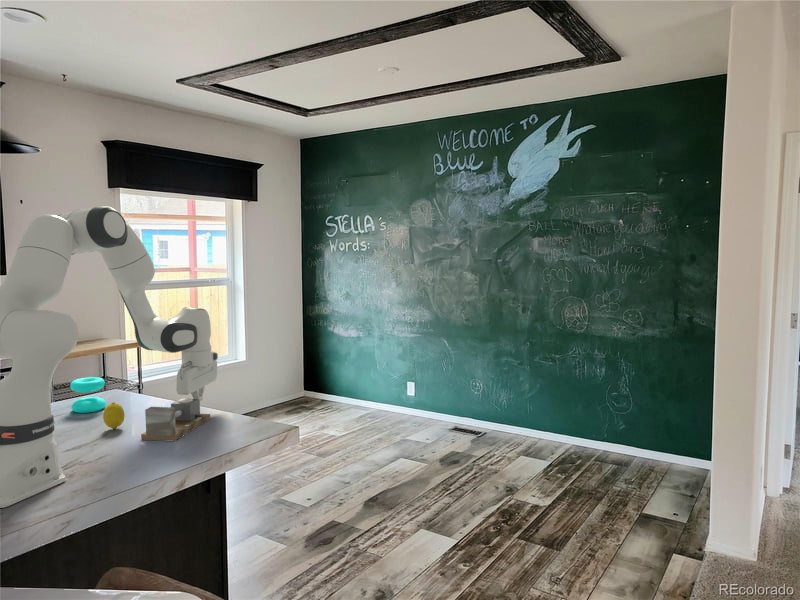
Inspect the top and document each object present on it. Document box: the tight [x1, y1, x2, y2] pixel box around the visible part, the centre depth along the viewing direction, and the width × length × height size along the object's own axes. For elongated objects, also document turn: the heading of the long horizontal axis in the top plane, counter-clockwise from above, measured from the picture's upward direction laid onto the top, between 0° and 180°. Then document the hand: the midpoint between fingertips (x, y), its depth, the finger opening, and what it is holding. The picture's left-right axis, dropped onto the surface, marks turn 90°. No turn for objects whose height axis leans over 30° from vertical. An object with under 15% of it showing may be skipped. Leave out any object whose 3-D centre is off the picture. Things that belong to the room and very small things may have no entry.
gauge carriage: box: [170, 397, 202, 421], centre depth 173 cm, size 9×8×5 cm
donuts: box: [69, 376, 107, 414], centre depth 190 cm, size 10×10×10 cm
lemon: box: [102, 401, 125, 430], centre depth 169 cm, size 6×6×8 cm
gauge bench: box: [140, 406, 211, 442], centre depth 170 cm, size 21×10×8 cm, turn 172°
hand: (198, 401), depth 183 cm, fingers closed
